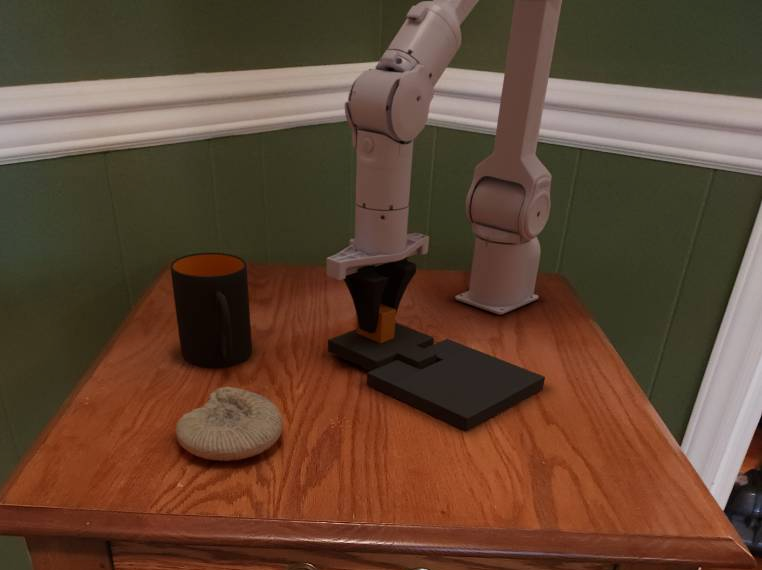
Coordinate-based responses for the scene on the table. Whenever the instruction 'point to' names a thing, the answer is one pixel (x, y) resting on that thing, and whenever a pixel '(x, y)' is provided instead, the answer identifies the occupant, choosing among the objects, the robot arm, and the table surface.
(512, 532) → the table surface
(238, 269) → the mug
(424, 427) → the table surface
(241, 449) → the fossil
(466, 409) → the charcoal mat
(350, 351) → the black pad
